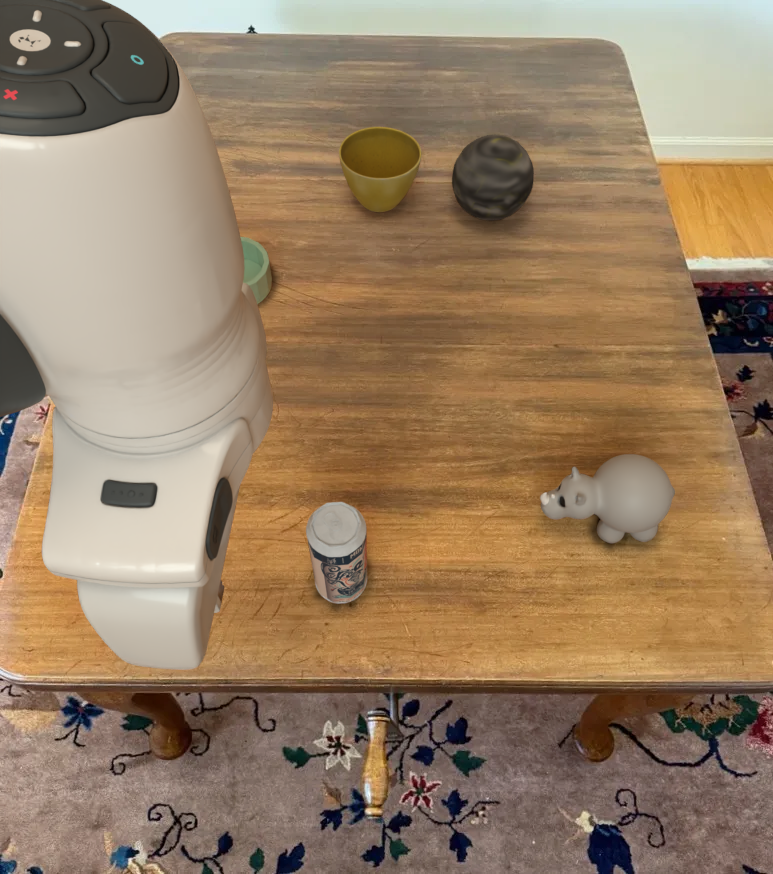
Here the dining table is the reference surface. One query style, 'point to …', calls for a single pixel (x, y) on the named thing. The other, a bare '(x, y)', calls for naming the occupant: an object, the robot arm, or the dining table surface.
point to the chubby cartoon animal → (615, 497)
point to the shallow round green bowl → (256, 268)
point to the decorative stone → (492, 177)
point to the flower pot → (380, 166)
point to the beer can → (338, 551)
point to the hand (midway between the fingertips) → (223, 525)
